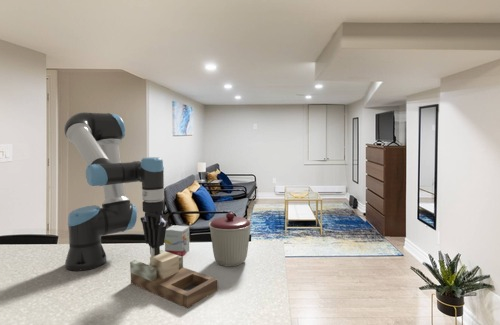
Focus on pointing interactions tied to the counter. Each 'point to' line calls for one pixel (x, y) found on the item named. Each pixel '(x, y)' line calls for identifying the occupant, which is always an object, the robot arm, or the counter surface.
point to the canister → (230, 239)
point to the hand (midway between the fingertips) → (155, 263)
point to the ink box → (177, 240)
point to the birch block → (165, 264)
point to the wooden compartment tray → (174, 283)
